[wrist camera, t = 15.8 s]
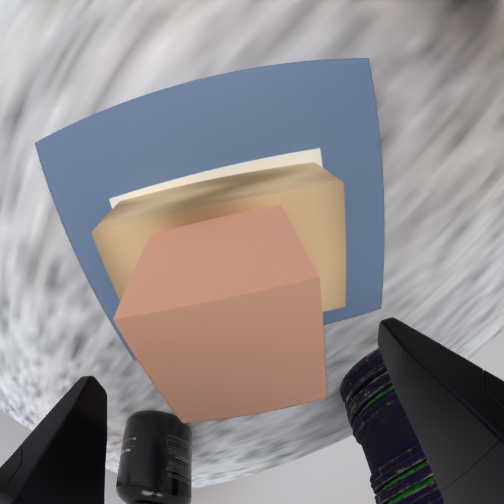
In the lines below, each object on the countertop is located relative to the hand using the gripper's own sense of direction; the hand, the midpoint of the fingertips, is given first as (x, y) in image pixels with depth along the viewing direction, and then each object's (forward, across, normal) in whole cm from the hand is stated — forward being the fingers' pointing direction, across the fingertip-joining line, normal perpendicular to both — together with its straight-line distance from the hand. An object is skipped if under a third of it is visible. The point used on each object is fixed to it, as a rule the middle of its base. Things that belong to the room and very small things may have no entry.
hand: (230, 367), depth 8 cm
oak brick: (+9, 0, 0) cm, 9 cm away
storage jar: (+10, -11, +18) cm, 23 cm away
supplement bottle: (+10, +12, +19) cm, 24 cm away
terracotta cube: (+5, 0, 0) cm, 5 cm away
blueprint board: (+10, 0, 0) cm, 10 cm away
